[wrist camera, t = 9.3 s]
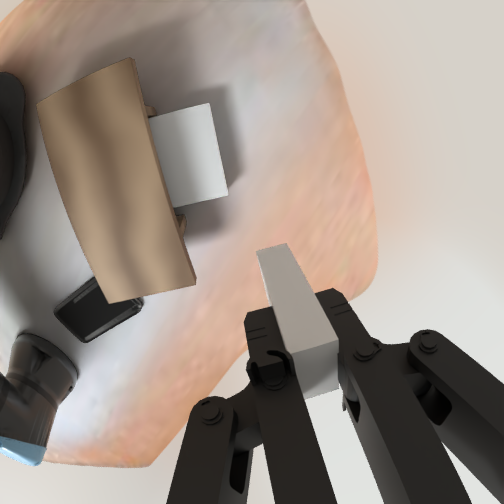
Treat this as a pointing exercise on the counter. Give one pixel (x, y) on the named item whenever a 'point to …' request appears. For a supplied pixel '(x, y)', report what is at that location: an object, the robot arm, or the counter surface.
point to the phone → (93, 312)
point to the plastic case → (189, 155)
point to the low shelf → (115, 184)
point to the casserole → (11, 145)
